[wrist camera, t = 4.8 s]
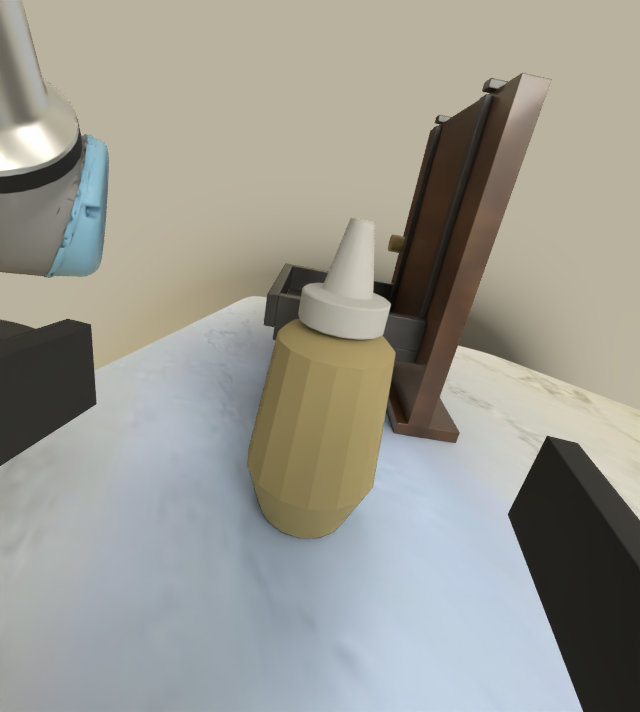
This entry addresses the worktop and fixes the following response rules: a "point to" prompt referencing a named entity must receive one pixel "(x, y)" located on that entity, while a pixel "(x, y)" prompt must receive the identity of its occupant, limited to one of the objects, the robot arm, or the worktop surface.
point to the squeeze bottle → (325, 398)
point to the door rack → (440, 248)
